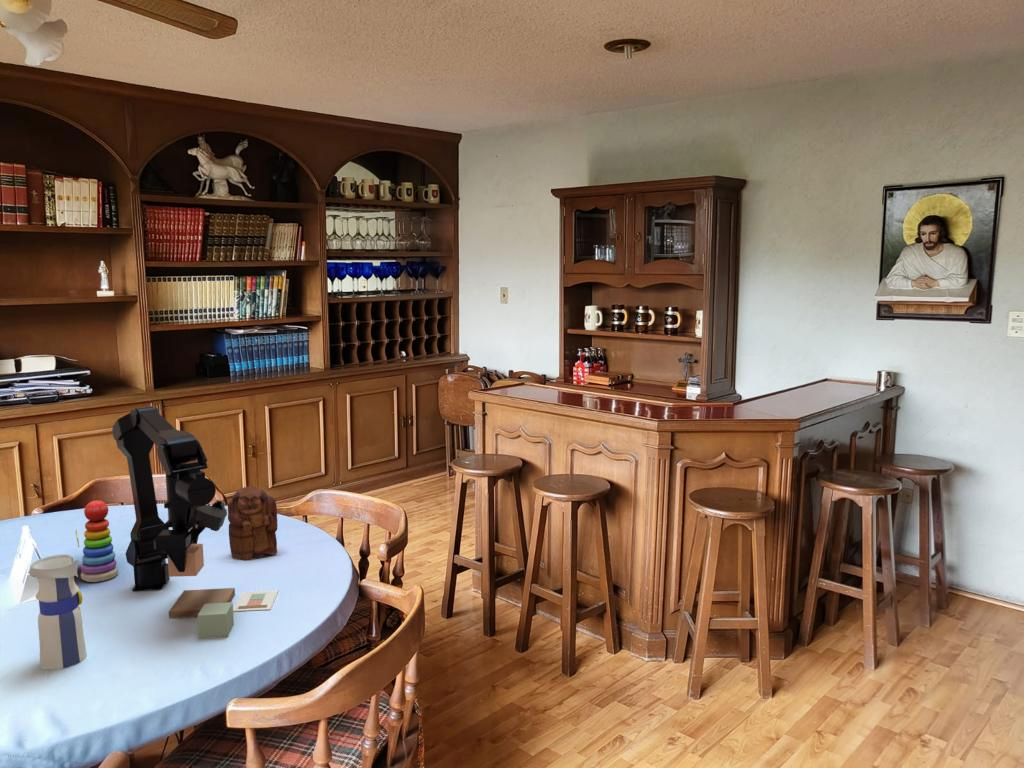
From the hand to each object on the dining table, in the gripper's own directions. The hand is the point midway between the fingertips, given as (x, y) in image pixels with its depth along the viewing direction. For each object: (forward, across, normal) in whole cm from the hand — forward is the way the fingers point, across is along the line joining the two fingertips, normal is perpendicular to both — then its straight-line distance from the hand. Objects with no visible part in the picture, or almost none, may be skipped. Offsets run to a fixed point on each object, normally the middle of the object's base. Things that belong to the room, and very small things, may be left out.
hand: (186, 566), depth 167 cm
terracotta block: (+1, 0, 0) cm, 1 cm away
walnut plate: (+11, +4, -2) cm, 12 cm away
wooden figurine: (+11, +34, -6) cm, 36 cm away
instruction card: (+11, +5, -13) cm, 17 cm away
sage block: (+11, -9, -8) cm, 16 cm away
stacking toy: (+11, +23, +28) cm, 38 cm away
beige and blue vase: (+11, -18, +18) cm, 27 cm away
